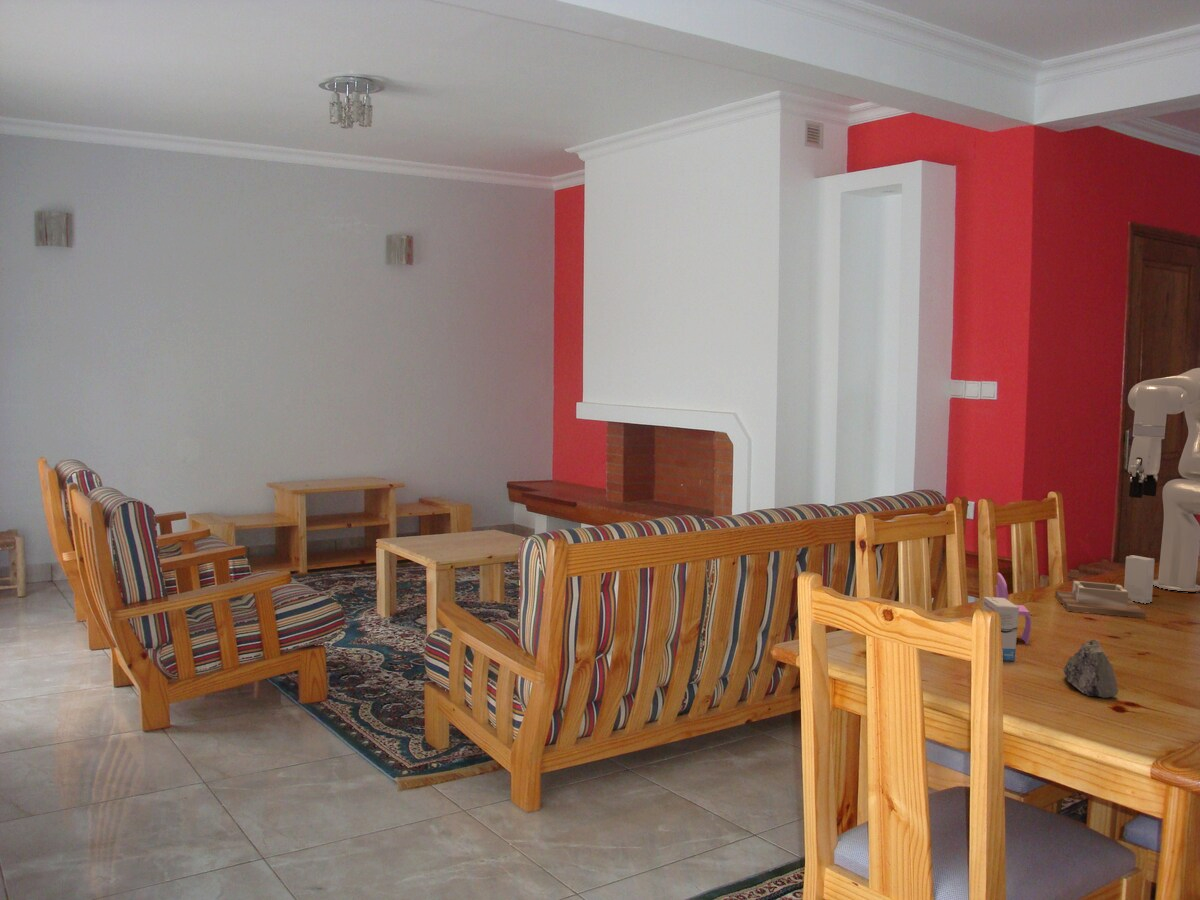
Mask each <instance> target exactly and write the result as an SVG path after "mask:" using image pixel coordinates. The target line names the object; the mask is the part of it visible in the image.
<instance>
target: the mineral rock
mask: <svg viewBox="0 0 1200 900" xmlns="http://www.w3.org/2000/svg"><path fill="white" fill-rule="evenodd" d="M1062 671H1063V674H1064V675H1065V678H1066V679H1067V682H1068V683H1071V685H1072V686H1073V687H1075V688H1076V689H1078V691H1080V692H1081V693H1082V694H1084V695H1087V697H1099V698H1103V699H1108V698H1111V697H1116V696H1117V695H1118V693H1119V688H1118V679H1117V675H1116V672H1115V670H1114V667H1113V664H1112V663H1111V660H1110V659H1109V658H1108V656H1107V655H1106V653H1105V651H1104V650H1103V648H1102V646H1101V643H1100V642H1099V641H1098V640H1096V639H1095V638H1092V639H1091V640H1088V641H1087V642H1083V643H1082V645H1081V646H1080V648H1079V649H1078V650H1077V652H1075V653H1074V654H1073V656H1070V657H1069V658H1068V659H1067V661H1066V663H1065V665H1064V667H1063V670H1062Z"/></svg>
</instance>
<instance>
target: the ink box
mask: <svg viewBox="0 0 1200 900" xmlns="http://www.w3.org/2000/svg"><path fill="white" fill-rule="evenodd" d="M1016 605H1017V604H1014V603H1013V602H1011V601H1010V600H1008V598H1007V599H1005V598H997V596H996V597H995V596H993V597H992V596H983V598H982V609H984V610H989V611H996V612H998V613H999V615H1000V617H1001V632H1002V649H1003V660H1002V661H1005V662H1006V661H1009V662H1010V661H1012V662H1015V661H1016V652H1017V651H1016V649H1017V638H1018V623H1019V615H1018V614H1019V607H1017V606H1016Z"/></svg>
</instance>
